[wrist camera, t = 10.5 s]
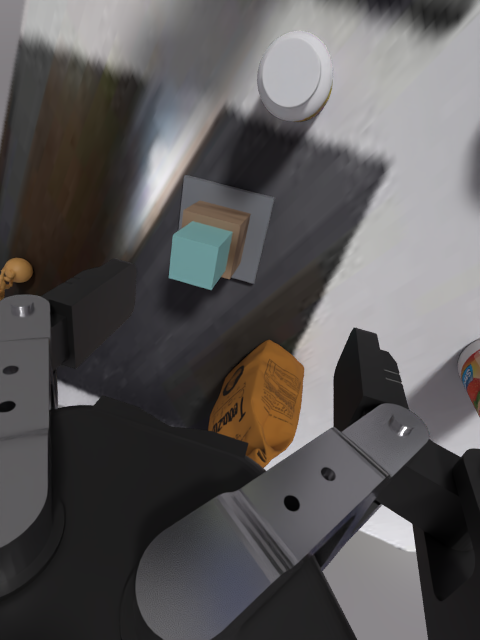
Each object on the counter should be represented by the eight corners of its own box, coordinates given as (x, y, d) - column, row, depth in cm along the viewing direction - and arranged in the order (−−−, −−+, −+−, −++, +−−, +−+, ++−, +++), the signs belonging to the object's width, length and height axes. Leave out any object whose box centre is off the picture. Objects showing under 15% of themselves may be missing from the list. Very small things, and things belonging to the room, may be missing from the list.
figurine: (22, 239, 57) (-45, 265, 47) (55, 261, 58) (-5, 291, 48) (12, 277, 61) (-52, 308, 51) (42, 297, 62) (-15, 331, 52)
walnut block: (199, 200, 47) (183, 210, 41) (250, 213, 46) (240, 225, 41) (193, 250, 50) (177, 264, 45) (240, 263, 50) (229, 279, 44)
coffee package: (219, 368, 61) (168, 477, 42) (270, 328, 55) (238, 436, 36) (259, 404, 63) (228, 525, 44) (313, 370, 57) (304, 493, 38)
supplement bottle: (277, 128, 41) (258, 131, 31) (266, 61, 39) (240, 38, 28) (336, 112, 39) (337, 108, 28) (328, 40, 37) (326, 5, 26)
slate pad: (186, 175, 46) (184, 176, 46) (275, 197, 45) (274, 198, 44) (177, 259, 53) (175, 261, 52) (255, 281, 51) (253, 283, 51)
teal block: (192, 221, 42) (172, 234, 37) (232, 231, 41) (218, 247, 36) (187, 260, 44) (168, 277, 39) (225, 270, 44) (211, 290, 39)
